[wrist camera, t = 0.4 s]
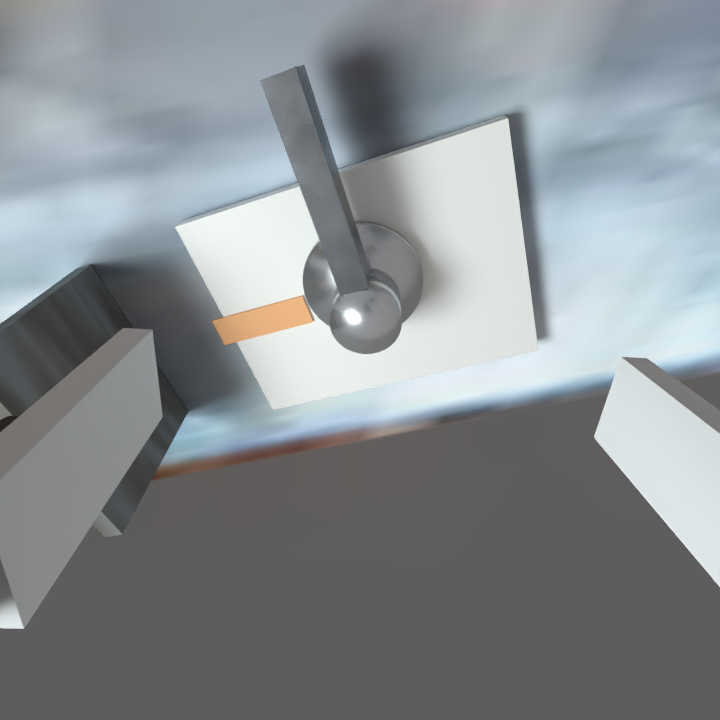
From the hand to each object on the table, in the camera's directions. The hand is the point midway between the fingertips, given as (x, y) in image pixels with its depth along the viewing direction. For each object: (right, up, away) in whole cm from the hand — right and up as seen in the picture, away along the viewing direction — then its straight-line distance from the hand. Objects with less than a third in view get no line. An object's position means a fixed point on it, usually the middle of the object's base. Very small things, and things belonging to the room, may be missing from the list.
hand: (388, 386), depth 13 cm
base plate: (0, +7, +25) cm, 25 cm away
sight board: (-21, +2, +29) cm, 36 cm away
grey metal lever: (-2, +11, +20) cm, 23 cm away
